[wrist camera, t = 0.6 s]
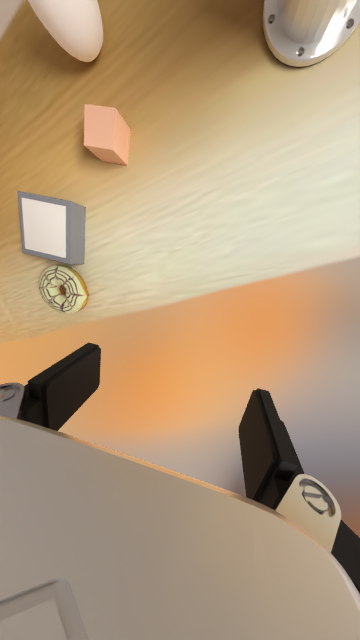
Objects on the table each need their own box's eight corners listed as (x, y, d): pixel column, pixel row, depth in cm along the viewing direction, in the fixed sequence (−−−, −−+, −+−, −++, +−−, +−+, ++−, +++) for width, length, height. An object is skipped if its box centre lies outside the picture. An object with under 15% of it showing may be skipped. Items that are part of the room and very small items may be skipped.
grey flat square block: (37, 197, 38) (16, 190, 34) (85, 207, 37) (69, 200, 33) (39, 253, 42) (21, 252, 38) (84, 263, 41) (69, 264, 37)
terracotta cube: (103, 126, 32) (84, 104, 28) (130, 130, 32) (115, 107, 27) (102, 161, 34) (83, 145, 29) (127, 165, 33) (112, 149, 29)
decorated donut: (73, 319, 46) (61, 324, 42) (42, 284, 44) (27, 286, 41) (99, 294, 42) (88, 297, 39) (67, 255, 41) (52, 254, 37)
